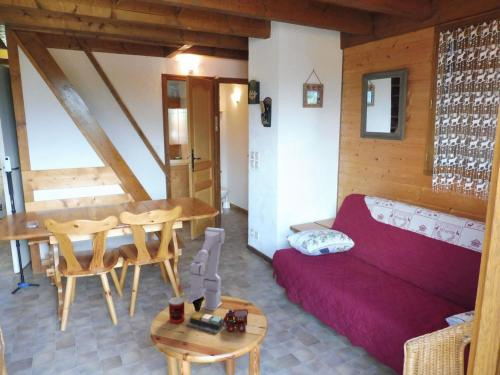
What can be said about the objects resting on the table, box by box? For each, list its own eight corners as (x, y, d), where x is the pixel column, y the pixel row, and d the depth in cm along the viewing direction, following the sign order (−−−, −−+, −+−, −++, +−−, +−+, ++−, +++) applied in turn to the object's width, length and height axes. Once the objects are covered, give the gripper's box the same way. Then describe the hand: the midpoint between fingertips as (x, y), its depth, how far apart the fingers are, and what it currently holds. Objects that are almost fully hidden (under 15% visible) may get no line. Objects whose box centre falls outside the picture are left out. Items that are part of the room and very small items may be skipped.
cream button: (205, 317, 195) (205, 313, 195) (212, 319, 193) (212, 315, 193) (201, 321, 191) (201, 317, 191) (208, 322, 190) (208, 319, 189)
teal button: (215, 319, 193) (215, 316, 192) (222, 321, 191) (222, 317, 191) (211, 323, 189) (211, 319, 189) (218, 325, 188) (218, 321, 187)
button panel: (198, 315, 201) (198, 310, 201) (227, 322, 195) (227, 317, 194) (186, 326, 191) (186, 321, 190) (216, 334, 184) (216, 329, 183)
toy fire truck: (222, 325, 192) (222, 306, 190) (247, 324, 193) (247, 305, 191) (223, 333, 185) (223, 313, 183) (248, 332, 186) (248, 312, 185)
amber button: (196, 316, 197) (196, 312, 197) (203, 318, 196) (203, 314, 195) (192, 320, 194) (192, 316, 193) (199, 321, 192) (198, 318, 192)
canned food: (180, 314, 202) (179, 295, 200) (187, 321, 196) (187, 301, 194) (166, 319, 197) (166, 299, 195) (174, 325, 191) (173, 305, 189)
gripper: (197, 278, 199) (198, 302, 202) (182, 290, 186) (182, 315, 189) (209, 281, 197) (209, 305, 199) (194, 293, 184) (195, 318, 186)
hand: (197, 310), depth 194 cm, fingers closed
